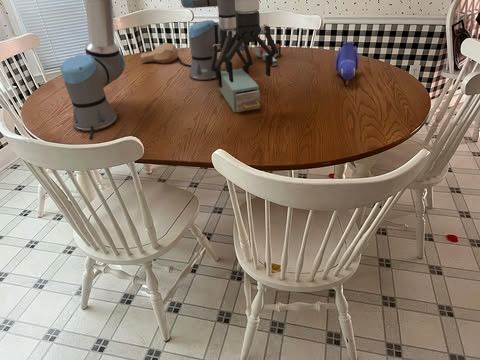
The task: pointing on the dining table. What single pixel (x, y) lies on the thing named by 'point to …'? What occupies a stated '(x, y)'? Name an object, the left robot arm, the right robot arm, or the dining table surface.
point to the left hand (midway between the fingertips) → (249, 78)
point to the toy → (347, 61)
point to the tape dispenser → (262, 53)
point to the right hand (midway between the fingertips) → (232, 84)
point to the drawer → (247, 100)
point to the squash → (161, 54)
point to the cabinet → (236, 85)
